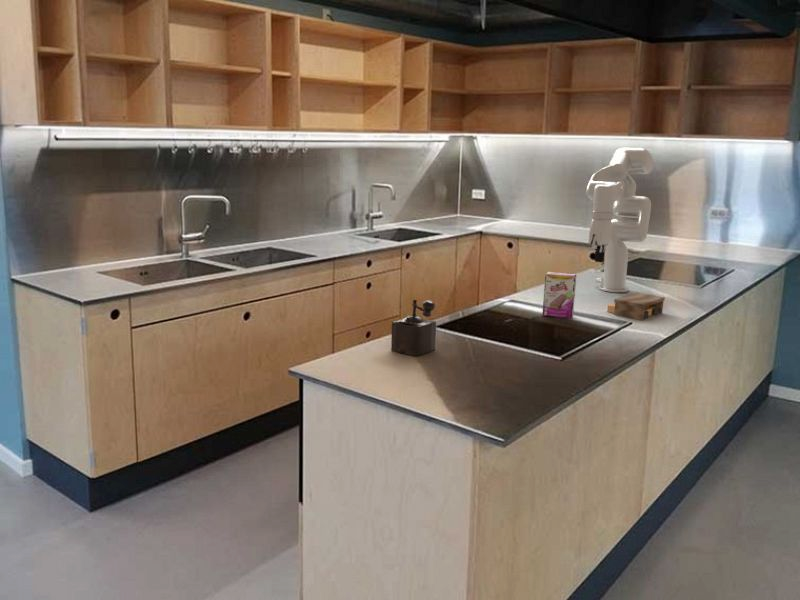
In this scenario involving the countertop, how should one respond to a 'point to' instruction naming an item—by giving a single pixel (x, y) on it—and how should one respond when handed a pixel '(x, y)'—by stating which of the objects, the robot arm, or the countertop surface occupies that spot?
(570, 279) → the candy bar box
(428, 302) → the black manual coffee grinder
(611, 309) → the orange cover
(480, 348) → the countertop surface
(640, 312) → the walnut shelf
